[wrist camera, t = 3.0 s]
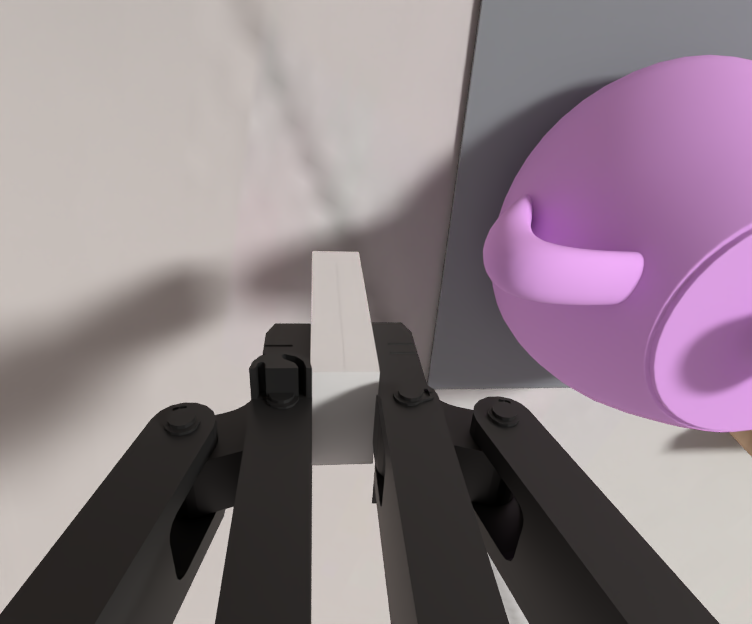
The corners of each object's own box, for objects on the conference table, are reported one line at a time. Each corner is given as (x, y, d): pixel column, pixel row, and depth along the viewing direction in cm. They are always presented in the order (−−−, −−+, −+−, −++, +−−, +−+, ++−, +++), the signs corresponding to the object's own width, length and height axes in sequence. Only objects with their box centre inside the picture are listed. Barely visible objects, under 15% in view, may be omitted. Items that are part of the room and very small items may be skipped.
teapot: (740, 382, 29) (934, 560, 20) (391, 317, 25) (434, 503, 16) (931, 129, 22) (1350, 219, 13) (502, -19, 18) (688, -37, 9)
